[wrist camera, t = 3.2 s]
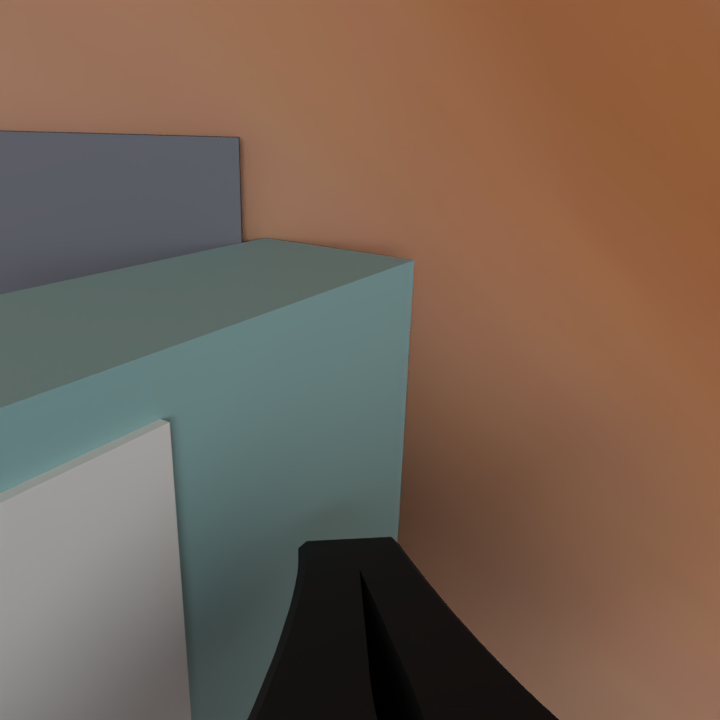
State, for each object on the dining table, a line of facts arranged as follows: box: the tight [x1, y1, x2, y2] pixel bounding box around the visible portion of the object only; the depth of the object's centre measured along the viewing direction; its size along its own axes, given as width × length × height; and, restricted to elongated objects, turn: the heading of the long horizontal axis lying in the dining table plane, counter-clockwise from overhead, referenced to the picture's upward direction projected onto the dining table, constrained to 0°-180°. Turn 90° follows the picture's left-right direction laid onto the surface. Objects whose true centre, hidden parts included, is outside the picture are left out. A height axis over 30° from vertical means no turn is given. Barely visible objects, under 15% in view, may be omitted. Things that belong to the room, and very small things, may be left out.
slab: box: [0, 238, 414, 720], centre depth 11 cm, size 8×4×9 cm
